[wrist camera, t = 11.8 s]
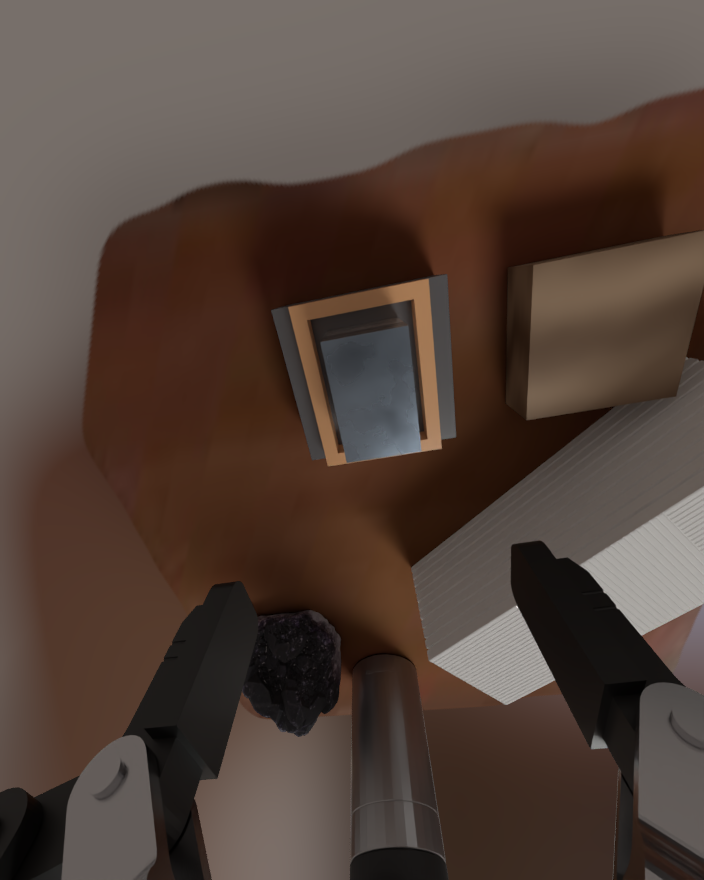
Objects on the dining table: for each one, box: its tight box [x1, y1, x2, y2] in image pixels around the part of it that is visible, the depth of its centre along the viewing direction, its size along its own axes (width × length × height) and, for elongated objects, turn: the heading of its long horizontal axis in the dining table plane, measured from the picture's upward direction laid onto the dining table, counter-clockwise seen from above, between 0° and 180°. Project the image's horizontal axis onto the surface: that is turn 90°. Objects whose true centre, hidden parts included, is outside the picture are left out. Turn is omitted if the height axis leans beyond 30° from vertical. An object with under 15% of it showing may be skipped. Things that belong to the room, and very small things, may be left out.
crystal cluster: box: [242, 610, 341, 737], centre depth 40 cm, size 14×14×10 cm
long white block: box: [411, 357, 704, 705], centre depth 30 cm, size 32×11×11 cm, turn 140°
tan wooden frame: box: [271, 274, 456, 466], centre depth 26 cm, size 12×12×6 cm
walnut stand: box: [506, 230, 704, 420], centre depth 25 cm, size 11×11×4 cm
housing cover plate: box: [320, 321, 421, 463], centre depth 21 cm, size 5×8×2 cm, turn 11°
